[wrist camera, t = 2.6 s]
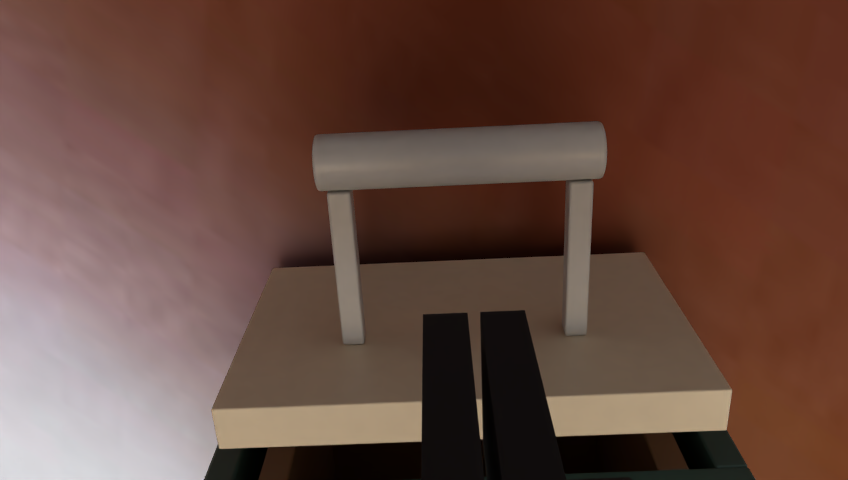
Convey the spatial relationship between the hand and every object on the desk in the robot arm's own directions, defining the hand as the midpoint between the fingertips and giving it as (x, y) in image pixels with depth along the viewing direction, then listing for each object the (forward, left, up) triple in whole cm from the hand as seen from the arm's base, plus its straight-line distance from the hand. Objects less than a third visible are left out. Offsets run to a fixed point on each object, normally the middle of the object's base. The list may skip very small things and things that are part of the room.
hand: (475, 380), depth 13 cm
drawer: (+4, +5, -12) cm, 13 cm away
